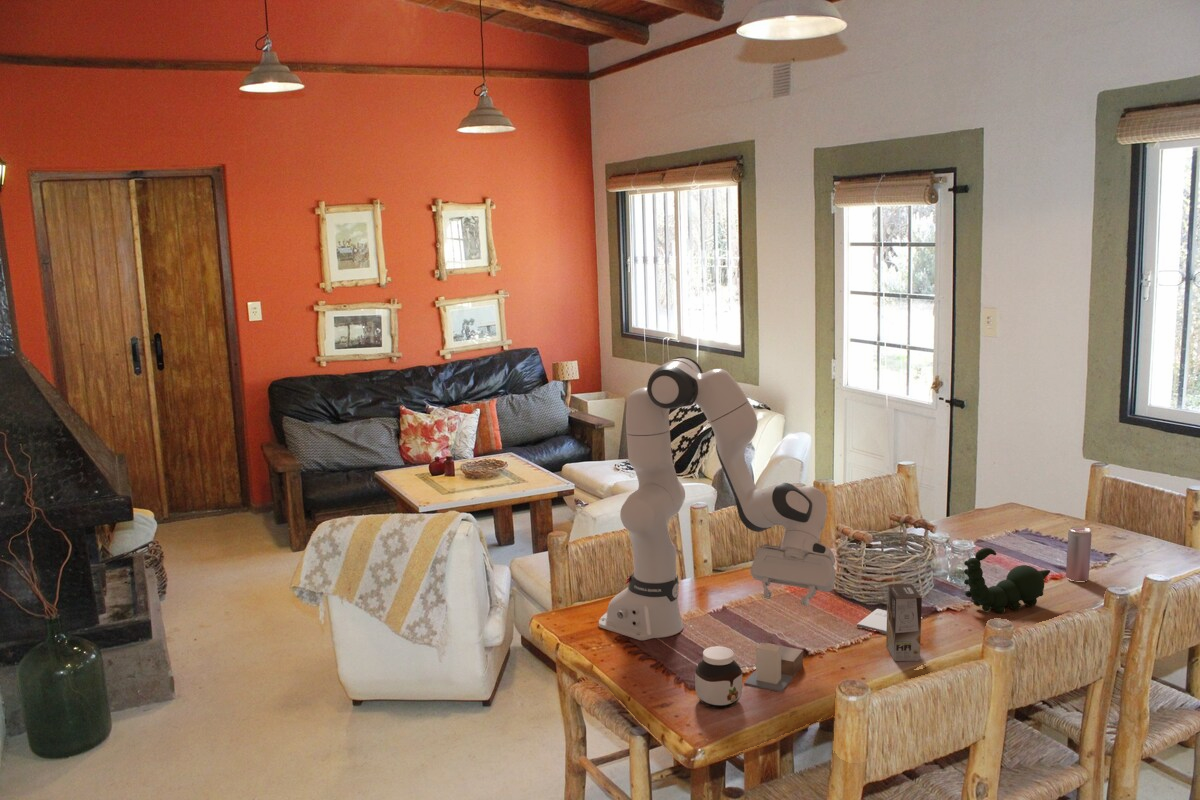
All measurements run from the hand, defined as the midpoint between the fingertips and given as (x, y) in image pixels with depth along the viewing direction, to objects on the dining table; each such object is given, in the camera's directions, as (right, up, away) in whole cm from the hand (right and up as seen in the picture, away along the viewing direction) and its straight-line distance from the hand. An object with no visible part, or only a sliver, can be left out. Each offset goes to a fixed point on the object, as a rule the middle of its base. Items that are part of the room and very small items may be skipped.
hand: (785, 601), depth 243 cm
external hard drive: (+29, -11, +24) cm, 39 cm away
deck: (-1, -16, 0) cm, 16 cm away
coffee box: (+30, -14, +6) cm, 33 cm away
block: (-5, -17, -7) cm, 19 cm away
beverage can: (+92, -4, +48) cm, 104 cm away
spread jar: (-17, -19, -13) cm, 29 cm away
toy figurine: (+65, -8, +30) cm, 72 cm away
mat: (-5, -17, -7) cm, 19 cm away
